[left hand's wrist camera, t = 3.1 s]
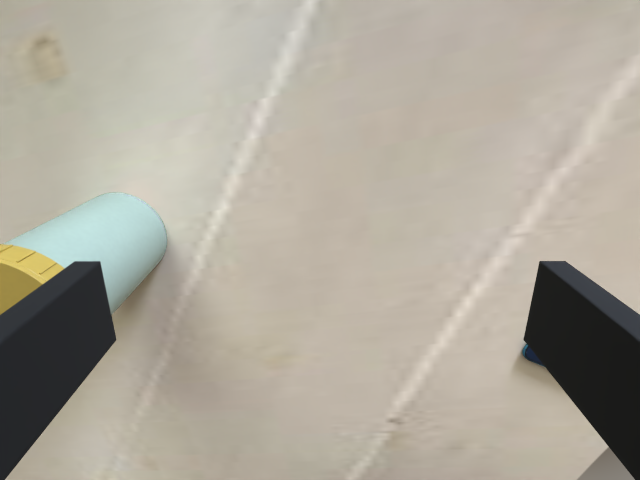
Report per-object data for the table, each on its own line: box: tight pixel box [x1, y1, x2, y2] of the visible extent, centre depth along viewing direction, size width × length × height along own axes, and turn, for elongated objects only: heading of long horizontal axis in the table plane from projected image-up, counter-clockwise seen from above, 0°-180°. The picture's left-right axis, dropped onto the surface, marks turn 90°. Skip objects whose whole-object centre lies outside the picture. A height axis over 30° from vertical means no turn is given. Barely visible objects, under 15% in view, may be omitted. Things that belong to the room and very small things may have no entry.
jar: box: [4, 193, 167, 315], centre depth 34 cm, size 9×9×17 cm
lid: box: [0, 244, 65, 315], centre depth 26 cm, size 10×10×2 cm
